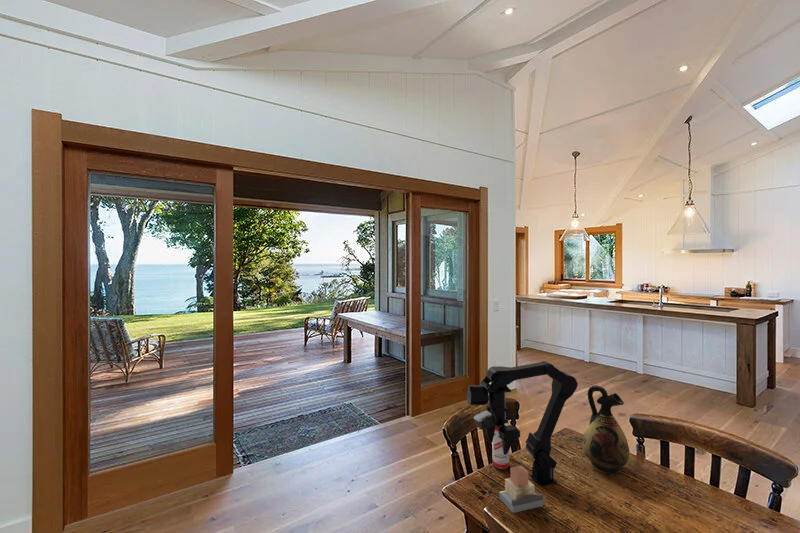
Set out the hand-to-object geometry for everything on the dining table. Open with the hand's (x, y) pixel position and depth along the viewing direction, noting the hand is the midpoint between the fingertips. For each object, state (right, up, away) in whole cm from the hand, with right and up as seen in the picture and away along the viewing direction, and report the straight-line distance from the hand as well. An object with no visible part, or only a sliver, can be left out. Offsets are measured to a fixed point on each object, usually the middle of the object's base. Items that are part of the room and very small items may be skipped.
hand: (497, 448), depth 129 cm
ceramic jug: (+42, -12, +9) cm, 45 cm away
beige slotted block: (+4, -10, -10) cm, 15 cm away
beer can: (+4, -12, +11) cm, 17 cm away
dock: (+5, -12, -11) cm, 17 cm away
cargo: (+4, -6, -10) cm, 13 cm away
